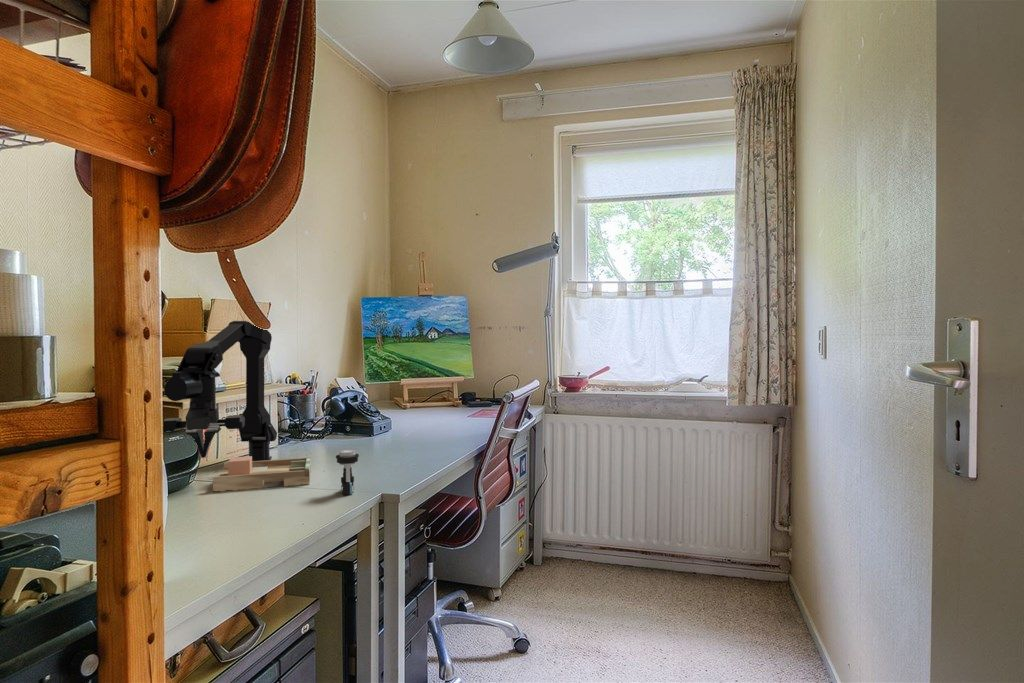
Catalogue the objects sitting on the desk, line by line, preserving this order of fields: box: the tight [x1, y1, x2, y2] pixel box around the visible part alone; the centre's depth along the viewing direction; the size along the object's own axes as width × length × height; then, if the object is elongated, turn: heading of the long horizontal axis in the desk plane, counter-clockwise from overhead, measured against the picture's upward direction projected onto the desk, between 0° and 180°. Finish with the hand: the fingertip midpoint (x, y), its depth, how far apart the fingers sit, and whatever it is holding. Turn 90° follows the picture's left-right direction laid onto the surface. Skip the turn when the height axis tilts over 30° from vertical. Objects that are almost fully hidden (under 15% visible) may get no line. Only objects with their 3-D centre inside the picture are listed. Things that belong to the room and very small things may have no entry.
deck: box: [212, 455, 312, 492], centre depth 151 cm, size 16×22×4 cm
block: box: [227, 455, 253, 476], centre depth 149 cm, size 5×5×4 cm
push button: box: [335, 449, 360, 496], centre depth 140 cm, size 7×5×10 cm
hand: (203, 457), depth 146 cm, fingers closed
